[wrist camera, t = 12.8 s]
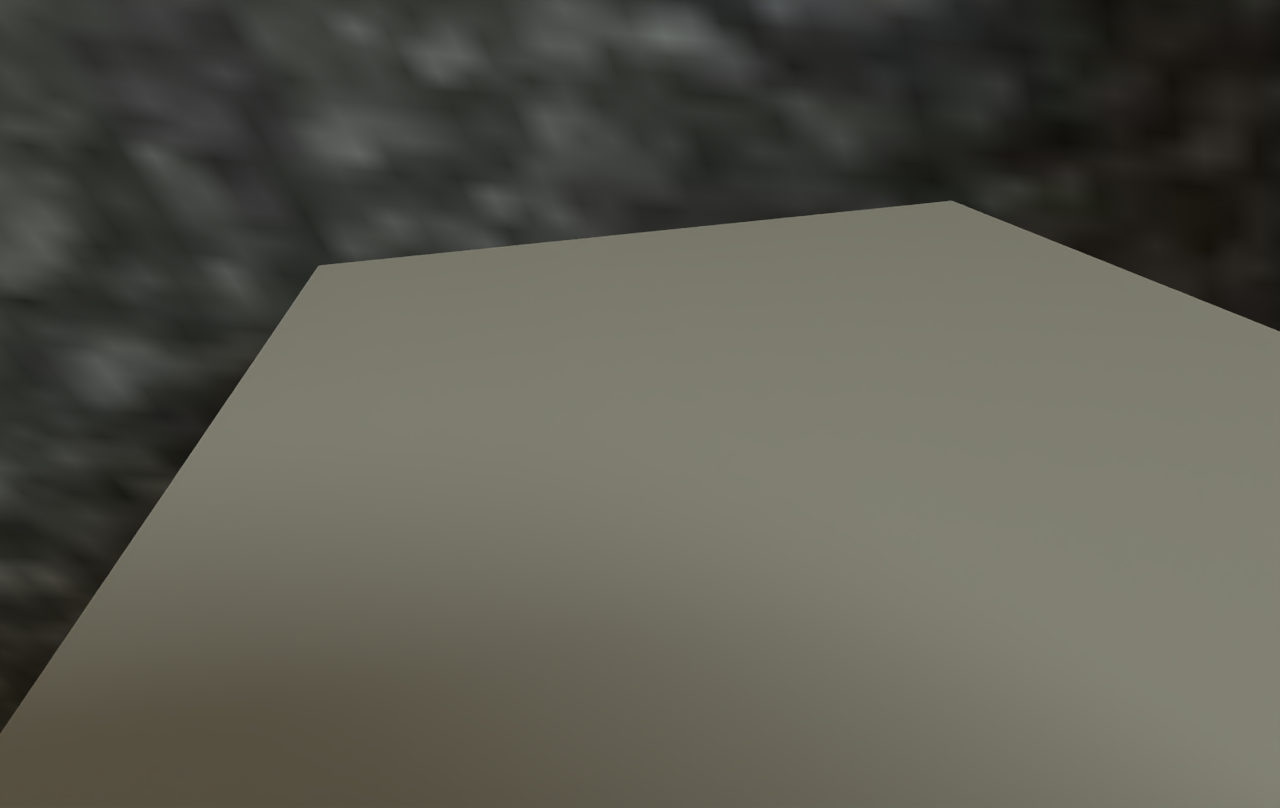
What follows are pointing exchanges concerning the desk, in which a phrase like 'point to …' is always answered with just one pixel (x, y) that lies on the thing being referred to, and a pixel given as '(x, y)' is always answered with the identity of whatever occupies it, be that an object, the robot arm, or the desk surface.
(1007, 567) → the plain beige cube
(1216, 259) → the desk surface
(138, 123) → the desk surface
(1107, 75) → the desk surface
